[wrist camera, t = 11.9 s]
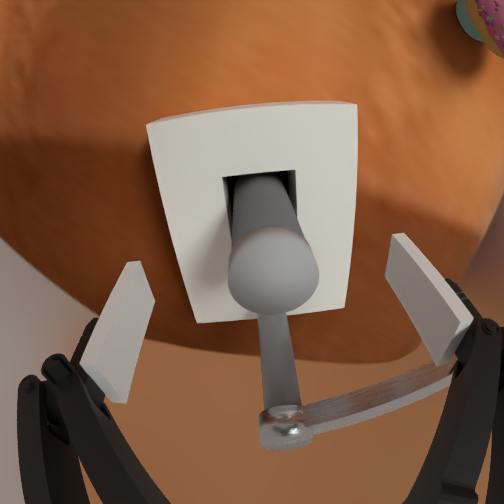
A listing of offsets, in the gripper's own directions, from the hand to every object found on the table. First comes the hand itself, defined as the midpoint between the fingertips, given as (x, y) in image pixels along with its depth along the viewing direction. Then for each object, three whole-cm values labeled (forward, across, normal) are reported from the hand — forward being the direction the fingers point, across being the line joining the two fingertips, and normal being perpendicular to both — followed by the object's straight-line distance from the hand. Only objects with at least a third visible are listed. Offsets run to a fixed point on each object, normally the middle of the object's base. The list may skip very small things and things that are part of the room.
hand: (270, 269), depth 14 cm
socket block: (+11, 0, -2) cm, 11 cm away
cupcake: (+11, +23, +18) cm, 32 cm away
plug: (+11, 0, 0) cm, 11 cm away
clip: (-2, +6, -7) cm, 9 cm away
